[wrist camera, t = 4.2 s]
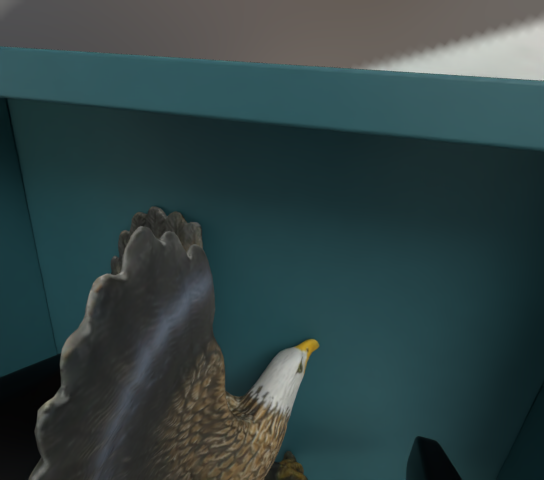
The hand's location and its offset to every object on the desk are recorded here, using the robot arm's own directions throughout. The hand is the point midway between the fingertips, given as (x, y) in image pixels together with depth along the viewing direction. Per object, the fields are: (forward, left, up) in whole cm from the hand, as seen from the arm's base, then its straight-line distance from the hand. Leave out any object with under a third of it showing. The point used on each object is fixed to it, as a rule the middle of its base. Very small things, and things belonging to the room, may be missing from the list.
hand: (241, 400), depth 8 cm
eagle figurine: (-1, 0, -2) cm, 2 cm away
